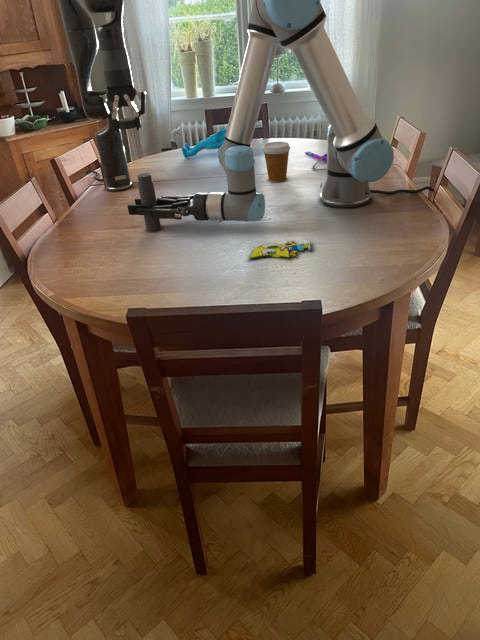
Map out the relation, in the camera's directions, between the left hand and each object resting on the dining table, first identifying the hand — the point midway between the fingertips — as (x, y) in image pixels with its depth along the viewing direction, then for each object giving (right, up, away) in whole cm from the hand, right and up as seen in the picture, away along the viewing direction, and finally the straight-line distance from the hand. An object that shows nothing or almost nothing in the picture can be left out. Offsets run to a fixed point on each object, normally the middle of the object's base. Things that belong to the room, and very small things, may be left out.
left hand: (128, 130), depth 143 cm
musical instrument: (+65, +4, +42) cm, 78 cm away
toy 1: (+23, +14, +64) cm, 70 cm away
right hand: (+2, -24, -4) cm, 24 cm away
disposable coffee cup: (+47, -6, +29) cm, 55 cm away
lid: (0, +2, -1) cm, 3 cm away
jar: (+8, -30, -2) cm, 31 cm away
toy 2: (+44, -39, -21) cm, 62 cm away
